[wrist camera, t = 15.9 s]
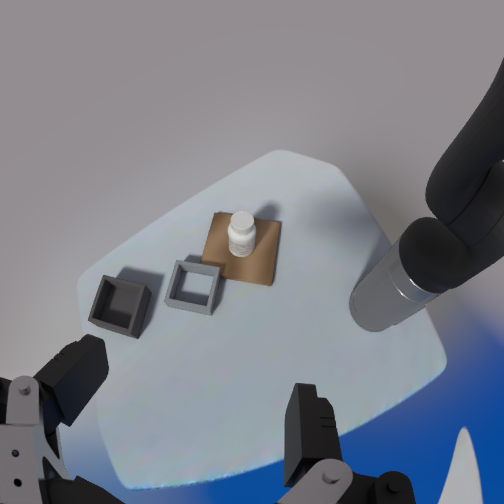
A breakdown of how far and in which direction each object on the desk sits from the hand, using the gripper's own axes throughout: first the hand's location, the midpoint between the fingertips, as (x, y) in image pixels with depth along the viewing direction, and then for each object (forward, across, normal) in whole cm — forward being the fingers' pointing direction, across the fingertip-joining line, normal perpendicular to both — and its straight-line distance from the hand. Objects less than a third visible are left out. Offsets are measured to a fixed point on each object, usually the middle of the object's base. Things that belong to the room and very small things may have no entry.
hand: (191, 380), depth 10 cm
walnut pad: (+38, +2, +5) cm, 39 cm away
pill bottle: (+38, +2, +4) cm, 38 cm away
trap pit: (+28, +19, +16) cm, 37 cm away
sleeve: (+32, +8, +11) cm, 35 cm away
